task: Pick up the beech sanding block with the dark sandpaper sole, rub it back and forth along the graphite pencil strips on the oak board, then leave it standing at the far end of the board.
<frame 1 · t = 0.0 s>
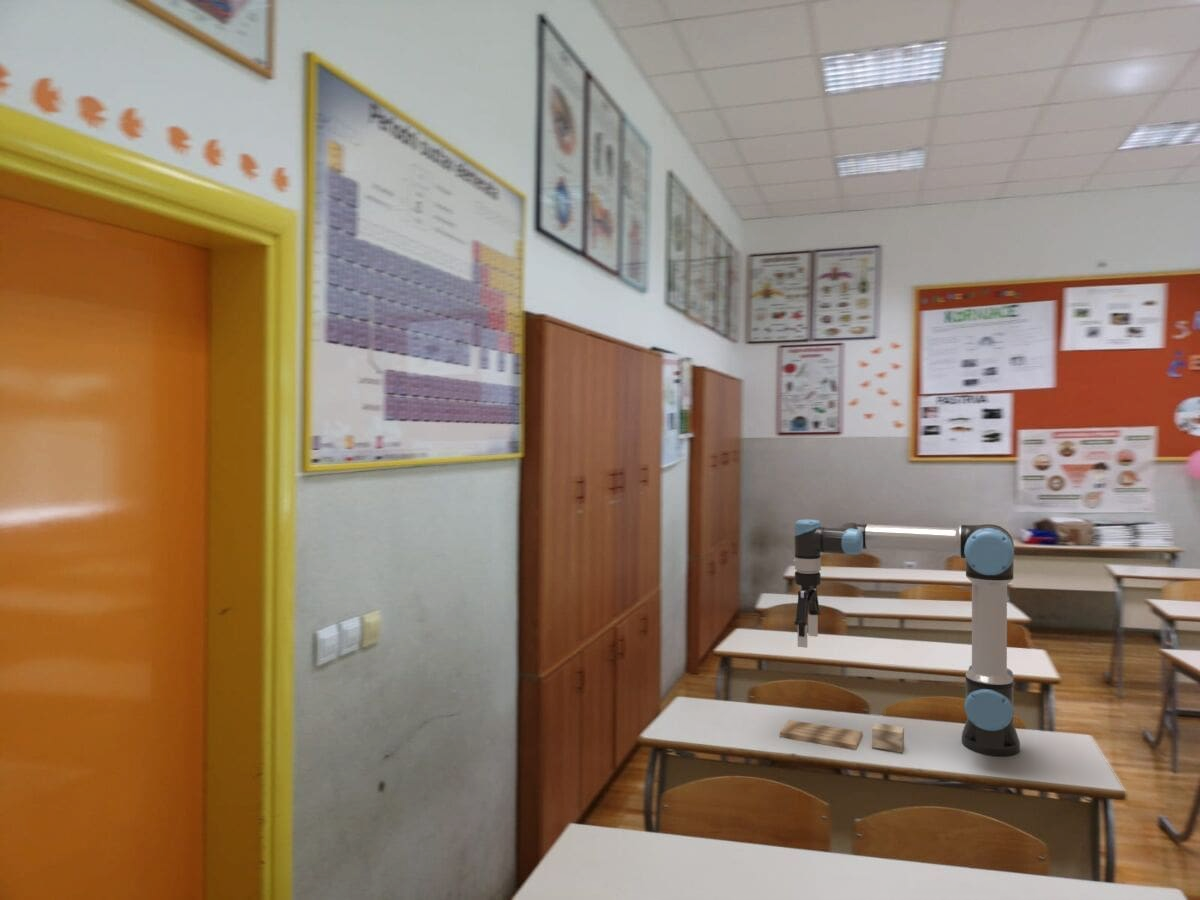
hand: (807, 641, 240), 28 cm above the table, fingers open, 13 cm apart
sanding block: (888, 748, 228), on the table
board: (821, 736, 237), on the table
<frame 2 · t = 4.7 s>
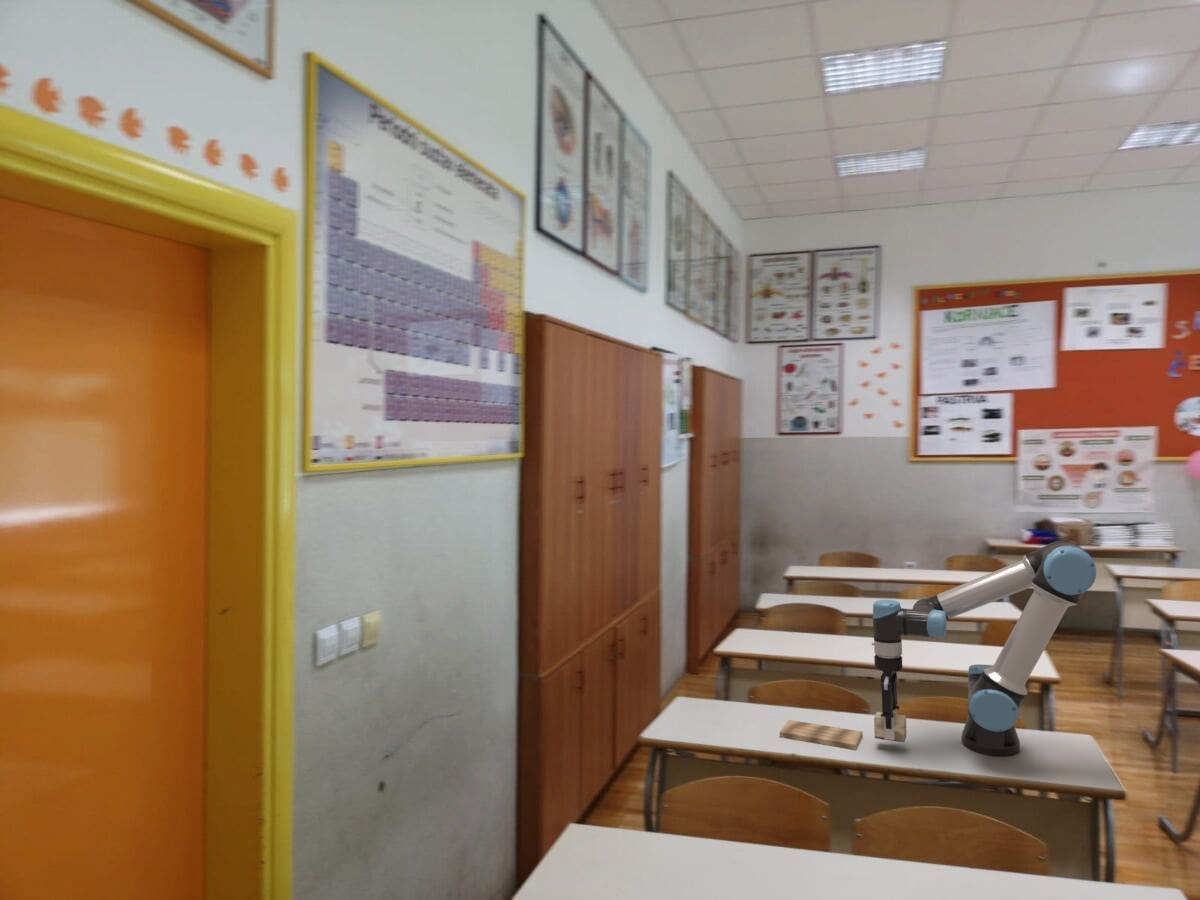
hand: (891, 735, 228), 4 cm above the table, fingers closed on sanding block, 5 cm apart
sanding block: (890, 737, 228), point 3 cm above the table, touching gripper
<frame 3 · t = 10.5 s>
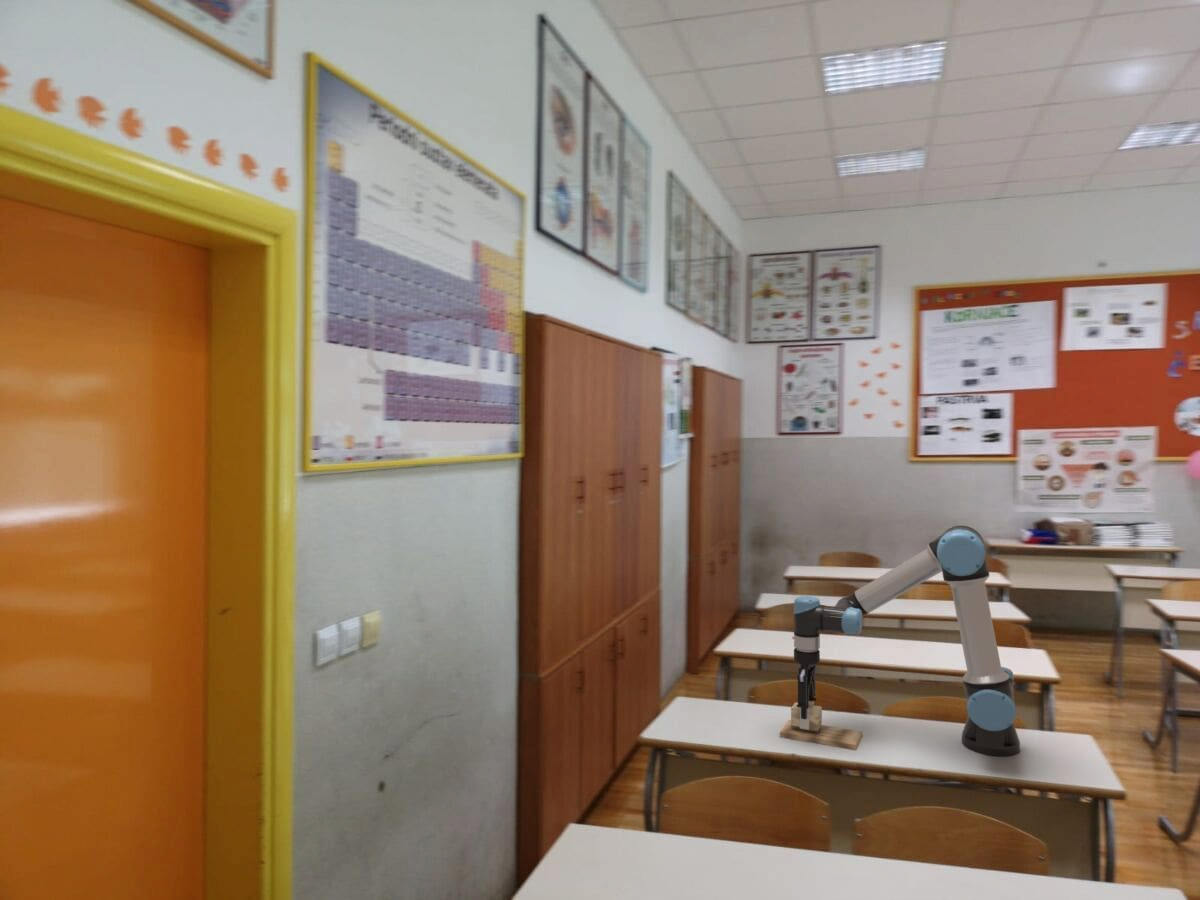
hand: (806, 725, 239), 3 cm above the table, fingers closed on sanding block, 5 cm apart
sanding block: (806, 726, 239), point 2 cm above the table, touching gripper
when the fingers open (3 cm above the table, at t = 16.5 s): sanding block stays where it is, resting on board.
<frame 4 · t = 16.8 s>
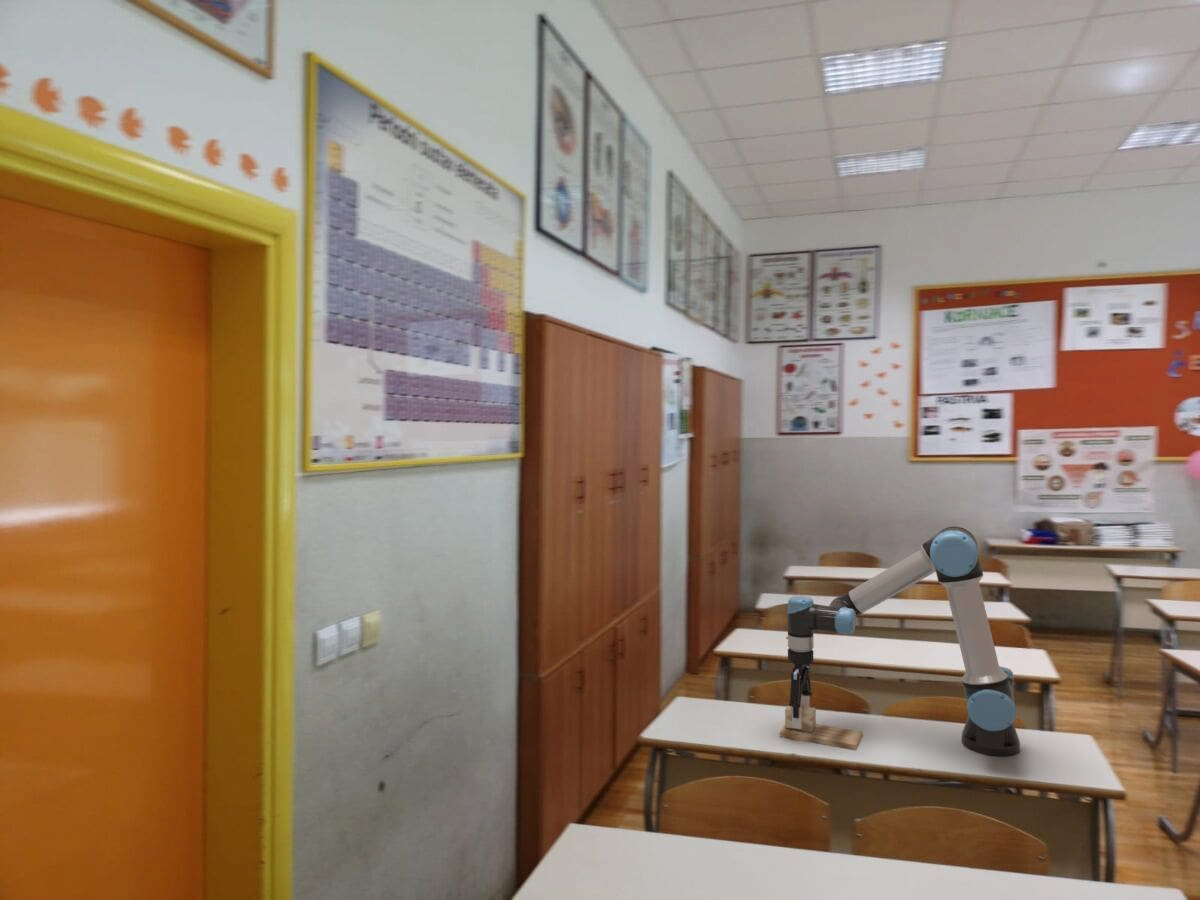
hand: (800, 722, 240), 3 cm above the table, fingers open, 9 cm apart
sanding block: (800, 728, 240), point 2 cm above the table, touching board
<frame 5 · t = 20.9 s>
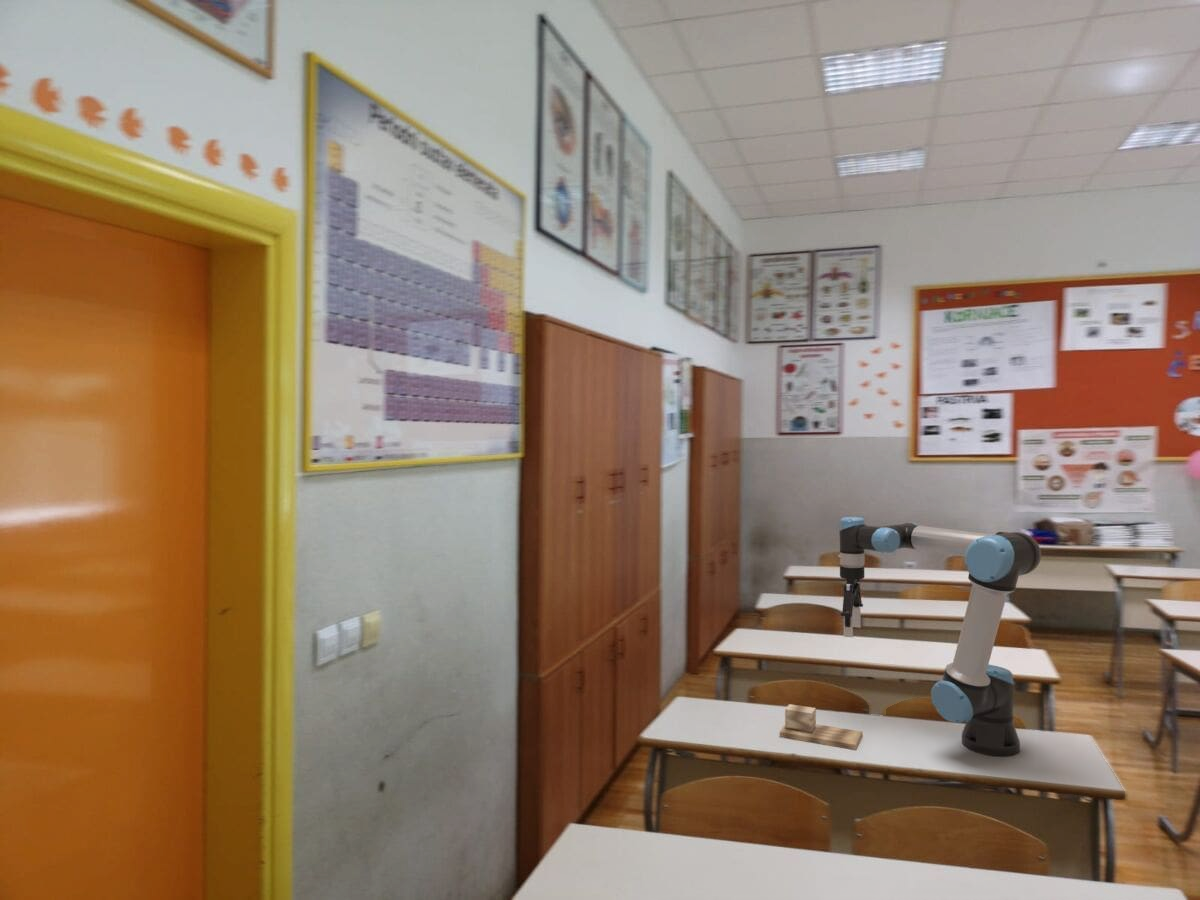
hand: (852, 631, 255), 27 cm above the table, fingers open, 13 cm apart
nothing on the table moved.
at the end: sanding block inside the target area (0.1 cm from its centre), point 1.5 cm above the table; sanding block tilted 0°; the gripper is holding nothing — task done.
